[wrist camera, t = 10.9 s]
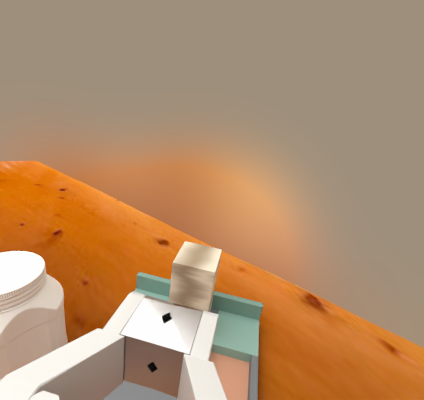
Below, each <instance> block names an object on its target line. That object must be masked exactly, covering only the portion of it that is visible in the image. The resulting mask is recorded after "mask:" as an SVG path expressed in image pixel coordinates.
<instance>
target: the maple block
mask: <svg viewBox="0 0 424 400" xmlns="http://www.w3.org/2000/svg"><path fill="white" fill-rule="evenodd" d="M221 252H222V250H221V249H217V248H213V247H208V246H204V245H200V244H195V243H191V242H187V241H185V242H184V244H183V246H182V247H181V249H180V251H179V253H178V254H177V256H176V258H175V259H174V261H173V266H172V275H171V284H170V293H169V302H172V303H176V304H180V305H184V306H188V307H192V308H195V309H199V310H203V311H207V312H210V310H211V305H212V300H213V294H214V289H215V284H216V278H217V273H218V268H219V262H220V257H221Z"/></svg>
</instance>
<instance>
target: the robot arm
mask: <svg viewBox="0 0 424 400" xmlns="http://www.w3.org/2000/svg"><path fill="white" fill-rule="evenodd" d="M218 318H219V315H218V314H215V313H211V312H207V311H203V310H199V309H195V308H192V307H188V306H184V305H180V304H176V303H172V302H168V301H165V300H162V299H158V298H155V297H152V296H148V295H144V294H141V293H137V292H134V291H132V292H131V293H129V294H128V296H127V297H126V298H125V300H124V301H123V302H122V304H121V305H120V306H119V308H118V309H117V310H116V312H115V313H114V314H113V316H112V317H111V319H110V320H109V321H108V323H107V324H106V325H105V327H104V328H103V329H99V328H98V329H96V330H94V331H92V332H90V333H88V334H86V335H84V336H82V337H80V338H78V339H76V340H74V341H72V342H70V343H68V344H66V345H64V346H62V347H60V348H58V349H56V350H54V351H52V352H50V353H48V354H47V355H45V356H43V357H41V358H39V359H37V360H35V361H33V362H31V363H29V364H27V365H25V366H23V367H21V368H19V369H17V370H15V371H13V372H11V373H9V374H7V375H6V376H5V377H4V378H3V379H2V380H1V381H0V400H103V399H104V398H105V397H106V396H108V395H109V394H110V393H111V392H112V391H114V390H115V389H116V388H117V387H118V386H120V385H121V384H122V383H123V381H127V382H131V383H134V384H138V385H141V386H145V387H148V388H151V389H154V390H157V391H160V392H163V393H165V394H168V395H171V396H174V397H177V400H227V397H226V395H225V392H224V389H223V386H222V384H221V381H220V378H219V376H218V373H217V370H216V367H215V365H214V363H213V362H210V357H211V352H212V347H213V342H214V337H215V332H216V327H217V323H218Z"/></svg>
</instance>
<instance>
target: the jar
mask: <svg viewBox="0 0 424 400" xmlns="http://www.w3.org/2000/svg"><path fill="white" fill-rule="evenodd" d="M63 302H64V294H63V288H62V286H61V284H60V283H59V282H58V281H57V280H56V279H54V278H53V277H51V276H49V275H48V274H46V268H45V261H44V260H43V258H42V257H41V256H39V255H37V254H35V253H32V252H27V251H10V252H3V253H0V381H1V380H2V379H3V378H4V377H5V376H6V375H7V374H9V373H11V372H13V371H15V370H17V369H19V368H21V367H23V366H25V365H27V364H29V363H31V362H33V361H35V360H37V359H39V358H41V357H43V356H45V355H47V354H48V353H50V352H52V351H54V350H56V349H58V348H60V347H62V346H64V345H66V344H68V341H67V335H66V327H65V316H64V304H63Z"/></svg>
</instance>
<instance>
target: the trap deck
mask: <svg viewBox="0 0 424 400" xmlns="http://www.w3.org/2000/svg"><path fill="white" fill-rule="evenodd" d="M170 284H171V280H169V279H165V278H161V277H157V276H153V275H149V274H145V273H141V272H139V273H138V274H137V284H136V289H135V291H134V292H137V293H141V294H144V295H148V296H152V297H155V298H158V299H162V300H165V301H168V302H169V293H170ZM262 309H263V303H260V302H256V301H252V300H248V299H244V298H240V297H236V296H232V295H228V294H224V293H220V292H216V291H214V294H213V300H212V305H211V310H210V312H211V313H215V314H218V315H219V318H218V323H217V327H216V332H215V337H214V342H213V347H212V352H211V357H210V362H213V363H214V365H215V367H216V370H217V373H218V376H219V378H220V381H221V384H222V386H223V389H224V392H225V395H226V397H227V400H257V395H258V348H259V319H260V316H261V312H262ZM103 400H177V397H174V396H171V395H168V394H165V393H163V392H160V391H157V390H154V389H151V388H148V387H145V386H141V385H138V384H134V383H131V382H127V381H123V383H122V384H121V385H120V386H118V387H117V388H116V389H115V390H114V391H112V392H111V393H110V394H109V395H108V396H106V397H105V398H104V399H103Z"/></svg>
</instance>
